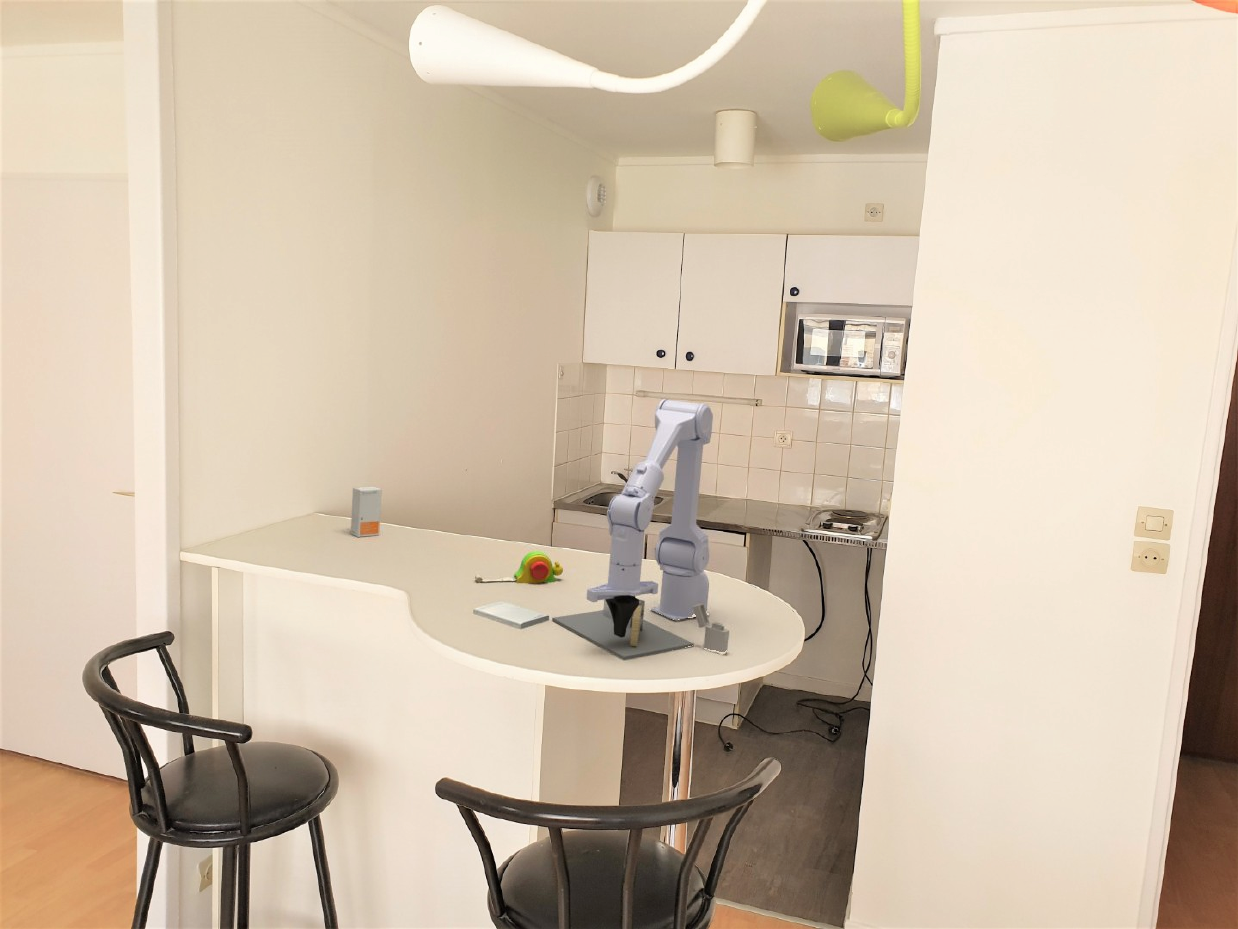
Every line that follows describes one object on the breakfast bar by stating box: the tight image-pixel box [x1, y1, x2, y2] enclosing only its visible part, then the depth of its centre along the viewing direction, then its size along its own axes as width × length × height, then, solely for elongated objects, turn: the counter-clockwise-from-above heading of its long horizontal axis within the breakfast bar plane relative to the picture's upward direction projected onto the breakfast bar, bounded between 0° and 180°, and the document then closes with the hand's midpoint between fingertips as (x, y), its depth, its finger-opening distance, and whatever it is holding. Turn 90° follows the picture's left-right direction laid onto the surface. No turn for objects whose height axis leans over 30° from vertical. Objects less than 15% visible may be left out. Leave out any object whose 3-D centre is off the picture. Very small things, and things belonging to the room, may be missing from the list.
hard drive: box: [472, 600, 550, 630], centre depth 180 cm, size 2×8×12 cm
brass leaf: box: [630, 599, 646, 646], centre depth 171 cm, size 11×2×5 cm, turn 175°
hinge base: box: [551, 599, 694, 661], centre depth 175 cm, size 16×23×6 cm
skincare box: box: [350, 486, 383, 538], centre depth 235 cm, size 6×4×12 cm
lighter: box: [693, 603, 730, 652], centre depth 170 cm, size 7×2×8 cm, turn 54°
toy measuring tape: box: [474, 550, 564, 584], centre depth 205 cm, size 6×19×7 cm, turn 108°
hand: (619, 635), depth 168 cm, fingers closed
